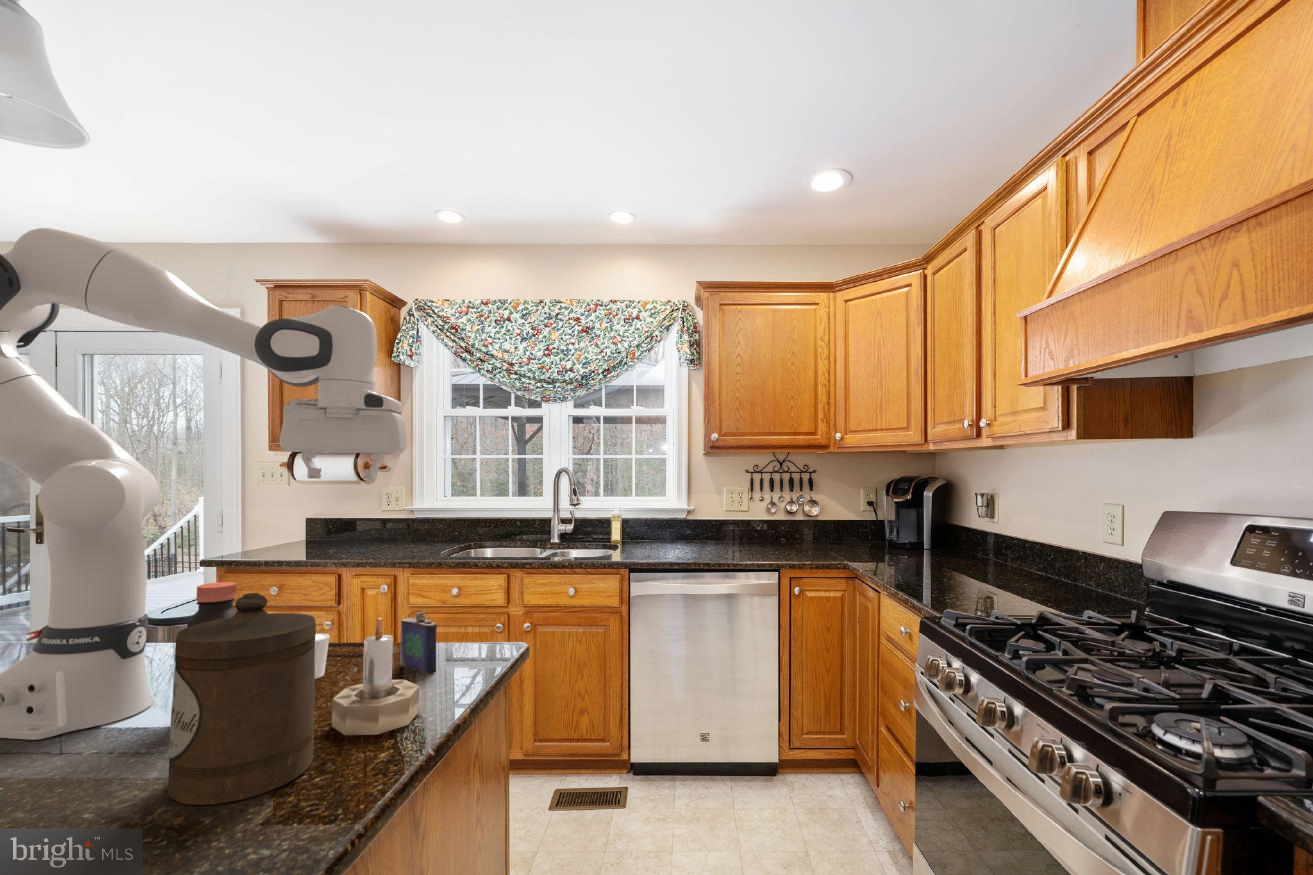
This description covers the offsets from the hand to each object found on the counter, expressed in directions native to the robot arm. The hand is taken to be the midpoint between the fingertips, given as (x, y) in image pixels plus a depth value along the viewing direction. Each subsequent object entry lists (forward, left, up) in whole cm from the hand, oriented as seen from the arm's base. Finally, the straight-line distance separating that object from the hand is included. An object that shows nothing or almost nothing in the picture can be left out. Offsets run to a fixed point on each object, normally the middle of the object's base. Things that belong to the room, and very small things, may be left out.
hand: (342, 479), depth 105 cm
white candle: (+11, -12, -36) cm, 40 cm away
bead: (+11, -12, -36) cm, 40 cm away
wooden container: (+1, -28, -36) cm, 46 cm away
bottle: (-14, -10, -36) cm, 40 cm away
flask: (+10, +12, -36) cm, 40 cm away
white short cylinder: (-9, +9, -36) cm, 38 cm away
